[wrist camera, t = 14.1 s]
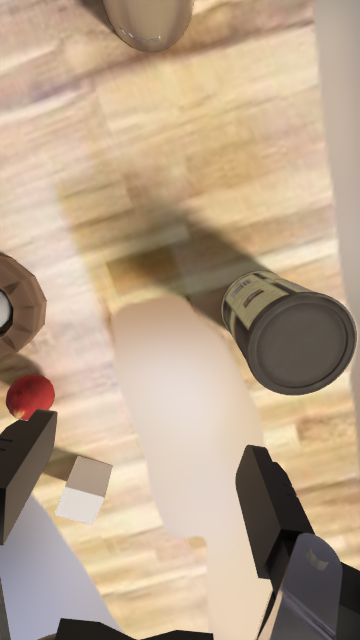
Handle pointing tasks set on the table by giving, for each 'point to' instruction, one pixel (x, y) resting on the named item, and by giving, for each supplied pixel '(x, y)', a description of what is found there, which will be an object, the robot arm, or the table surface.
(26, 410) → the onion
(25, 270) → the walnut ring
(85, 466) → the white cube
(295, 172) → the table surface
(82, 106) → the table surface
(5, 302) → the salt shaker
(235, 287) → the coffee can
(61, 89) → the table surface
